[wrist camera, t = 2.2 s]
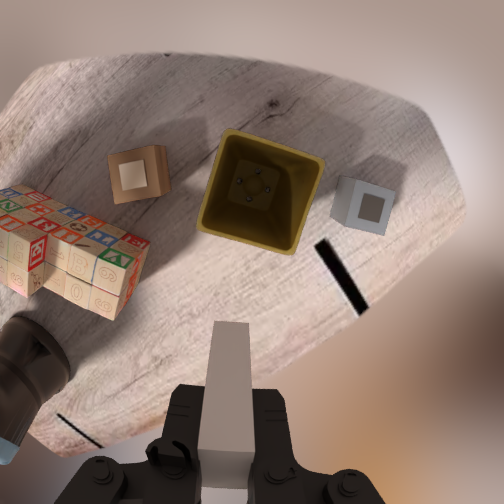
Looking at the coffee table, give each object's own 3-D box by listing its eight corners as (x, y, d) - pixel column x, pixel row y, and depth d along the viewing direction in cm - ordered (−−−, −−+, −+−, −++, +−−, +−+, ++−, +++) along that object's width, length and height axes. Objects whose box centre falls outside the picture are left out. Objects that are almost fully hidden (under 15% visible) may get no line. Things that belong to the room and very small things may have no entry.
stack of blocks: (152, 240, 33) (115, 284, 22) (138, 284, 35) (103, 340, 23) (21, 183, 29) (-41, 200, 18) (14, 225, 31) (-42, 253, 19)
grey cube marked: (329, 216, 34) (344, 226, 29) (339, 175, 32) (357, 179, 27) (365, 224, 34) (384, 236, 29) (375, 186, 33) (396, 191, 28)
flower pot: (227, 134, 30) (225, 126, 21) (302, 158, 31) (327, 160, 23) (204, 210, 32) (194, 229, 24) (278, 231, 34) (293, 258, 25)
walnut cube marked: (130, 197, 31) (114, 204, 26) (124, 155, 30) (106, 155, 25) (171, 189, 31) (160, 196, 27) (165, 146, 30) (153, 144, 25)
